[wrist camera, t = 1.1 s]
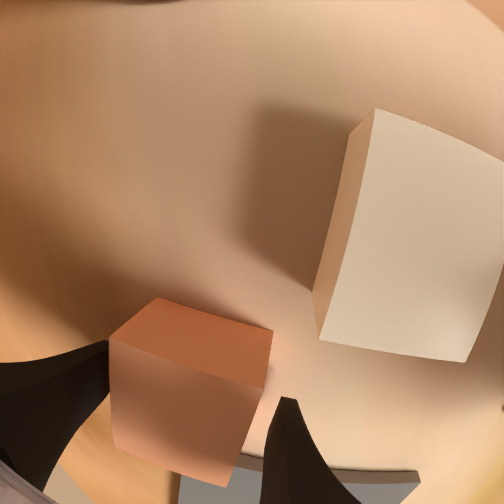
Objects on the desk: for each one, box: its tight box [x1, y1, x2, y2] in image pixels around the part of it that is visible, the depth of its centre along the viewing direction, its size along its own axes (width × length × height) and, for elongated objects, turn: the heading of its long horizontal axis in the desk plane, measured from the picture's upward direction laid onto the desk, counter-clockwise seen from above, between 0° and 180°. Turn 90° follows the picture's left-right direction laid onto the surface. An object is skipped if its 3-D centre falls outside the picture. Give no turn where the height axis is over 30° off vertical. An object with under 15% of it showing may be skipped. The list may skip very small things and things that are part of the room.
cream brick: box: [312, 108, 504, 363], centre depth 9 cm, size 5×6×4 cm
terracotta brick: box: [109, 297, 273, 487], centre depth 11 cm, size 5×6×4 cm
